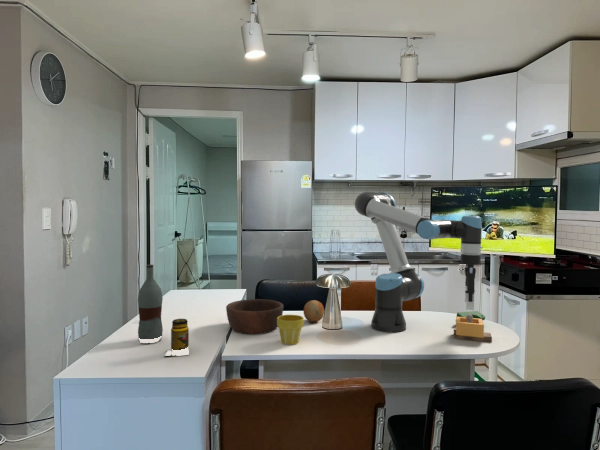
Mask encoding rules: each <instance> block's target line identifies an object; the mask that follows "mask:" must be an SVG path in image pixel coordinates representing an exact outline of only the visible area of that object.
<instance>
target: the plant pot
mask: <svg viewBox="0 0 600 450" xmlns="http://www.w3.org/2000/svg"><path fill="white" fill-rule="evenodd" d="M304 318H305V317H304V316H302V315H298V314H282V315H281V316H278V317H277V327H278V331H279V335H280V341H281V344H283V345H288V346H294V345H298V343H299V341H300V338H301V334H302V333H301V332H302V329H303V327H304V320H305V319H304ZM293 344H294V345H293Z"/></svg>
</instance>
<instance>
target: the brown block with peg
mask: <svg viewBox="0 0 600 450" xmlns="http://www.w3.org/2000/svg"><path fill="white" fill-rule="evenodd" d="M466 318H467V323H472V320H473V316H472V315H471V314H468V315H467V316H466ZM453 339H459V340H467V341H469V340H470V341H478V342H479V341H480V342H488V343H492V342H493V337H492V333H491V332H485V331H484V338H482V337H472V336H462V335H456V328H455V329H453Z"/></svg>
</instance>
